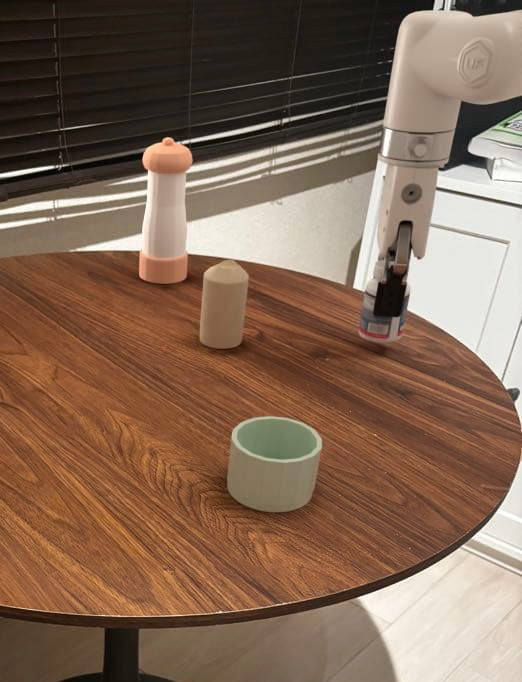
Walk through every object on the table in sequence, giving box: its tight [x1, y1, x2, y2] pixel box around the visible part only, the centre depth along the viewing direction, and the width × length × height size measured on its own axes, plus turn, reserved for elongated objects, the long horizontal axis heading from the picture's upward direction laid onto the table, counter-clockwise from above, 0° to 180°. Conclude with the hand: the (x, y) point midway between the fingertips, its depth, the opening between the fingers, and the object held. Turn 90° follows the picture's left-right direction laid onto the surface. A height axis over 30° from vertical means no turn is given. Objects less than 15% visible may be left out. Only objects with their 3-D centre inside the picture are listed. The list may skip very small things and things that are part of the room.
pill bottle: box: [358, 260, 412, 344], centre depth 99 cm, size 5×5×9 cm
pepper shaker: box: [138, 136, 194, 285], centre depth 118 cm, size 7×7×19 cm
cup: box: [226, 415, 323, 513], centre depth 76 cm, size 8×8×6 cm
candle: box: [199, 259, 250, 350], centre depth 102 cm, size 6×6×10 cm
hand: (385, 305), depth 99 cm, fingers closed on pill bottle, 5 cm apart
